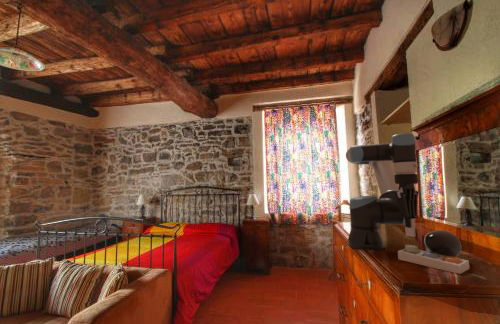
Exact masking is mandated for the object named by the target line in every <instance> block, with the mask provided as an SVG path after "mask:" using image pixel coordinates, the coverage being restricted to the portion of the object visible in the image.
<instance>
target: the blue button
mask: <svg viewBox="0 0 500 324" xmlns="http://www.w3.org/2000/svg"><path fill="white" fill-rule="evenodd" d="M424 251H425V252H423V253H424V256H426V257H431V258H435V259H436V258H438V254H437V253H435V252H430V251H429V250H428V251H427V250H424Z"/></svg>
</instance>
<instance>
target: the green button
mask: <svg viewBox="0 0 500 324" xmlns="http://www.w3.org/2000/svg"><path fill="white" fill-rule="evenodd" d="M404 249H405V252H409V253H414V254H417V253H418V250H419V246H417V245H413V244H405V245H404Z"/></svg>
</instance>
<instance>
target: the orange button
mask: <svg viewBox="0 0 500 324" xmlns="http://www.w3.org/2000/svg"><path fill="white" fill-rule="evenodd" d="M460 259H461V258H459V257H458V256H456V257H453V256H444V261H447V262H452V263H456V264H459V263H460Z"/></svg>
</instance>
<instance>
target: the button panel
mask: <svg viewBox="0 0 500 324" xmlns="http://www.w3.org/2000/svg"><path fill="white" fill-rule="evenodd" d="M425 251H426V250H423V249H418V253H417V254H414V253H409V252H405V248H403V249H399V250H397V259H398V261H400V260H401V261H405V262H409V263H413V264H417V265H421V266H425V267H428V268H434V269H439V270H442V271H447V272H450V273H454V274H462V273H464V272H466V271H469V270H470V261H469V260H467V259H465V258H464V259H463V258H459V259H460V263H459V264H456V263H452V262H447V261H444V256H445V255H441V254H438V258H436V259H435V258H431V257H426V256H424V253H423V252H425Z"/></svg>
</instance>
